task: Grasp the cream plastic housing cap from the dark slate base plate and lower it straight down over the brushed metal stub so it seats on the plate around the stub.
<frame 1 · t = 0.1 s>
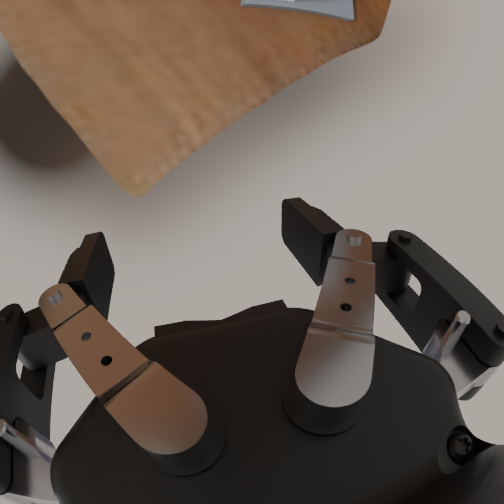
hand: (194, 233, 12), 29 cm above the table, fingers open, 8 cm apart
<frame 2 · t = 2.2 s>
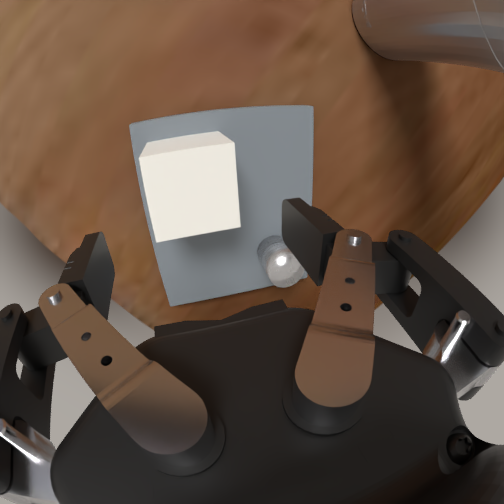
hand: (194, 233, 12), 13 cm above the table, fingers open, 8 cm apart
base plate: (230, 206, 26), on the table
housing cap: (186, 169, 21), point 1 cm above the table, touching base plate
stub: (272, 249, 28), resting on base plate
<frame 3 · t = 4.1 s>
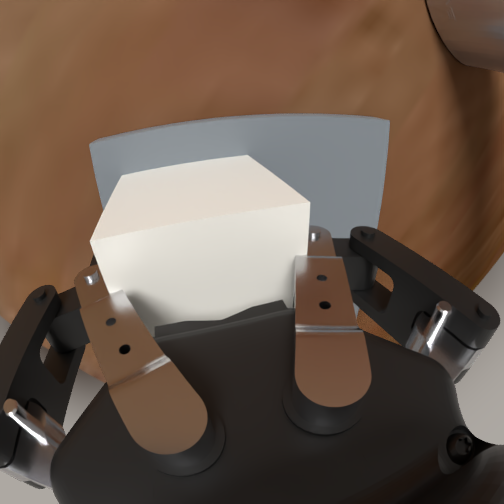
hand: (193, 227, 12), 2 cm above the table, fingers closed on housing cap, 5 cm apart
base plate: (257, 268, 17), on the table
housing cap: (192, 221, 13), point 2 cm above the table, touching base plate, gripper
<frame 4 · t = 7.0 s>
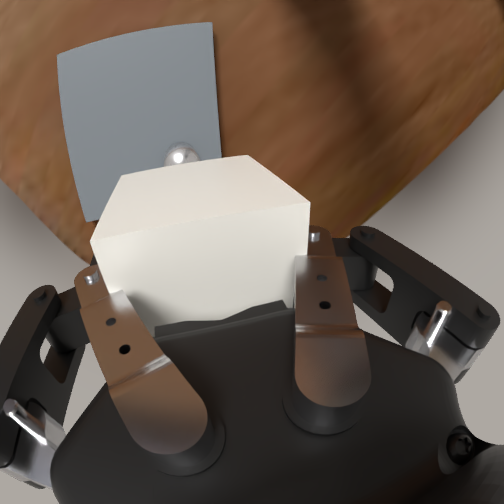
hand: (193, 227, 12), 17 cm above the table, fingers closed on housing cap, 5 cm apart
base plate: (139, 119, 24), on the table
housing cap: (192, 221, 13), point 17 cm above the table, touching gripper
stub: (180, 158, 25), resting on base plate
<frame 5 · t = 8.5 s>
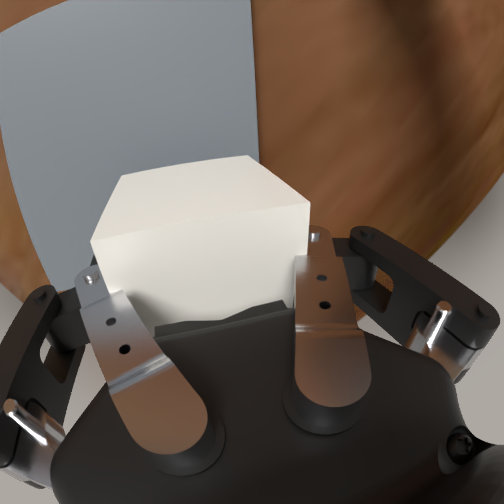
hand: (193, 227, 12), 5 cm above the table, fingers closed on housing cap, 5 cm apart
base plate: (123, 130, 14), on the table
housing cap: (192, 221, 13), point 5 cm above the table, touching gripper
when the fingers open (4 cm above the table, at t = 9.9 s): housing cap drops 2 cm, resting on base plate.
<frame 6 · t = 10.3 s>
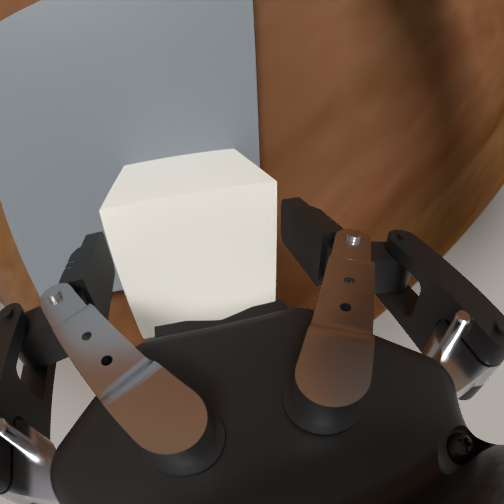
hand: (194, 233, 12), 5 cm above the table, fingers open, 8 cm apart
base plate: (113, 132, 13), on the table
housing cap: (185, 206, 15), point 1 cm above the table, touching base plate
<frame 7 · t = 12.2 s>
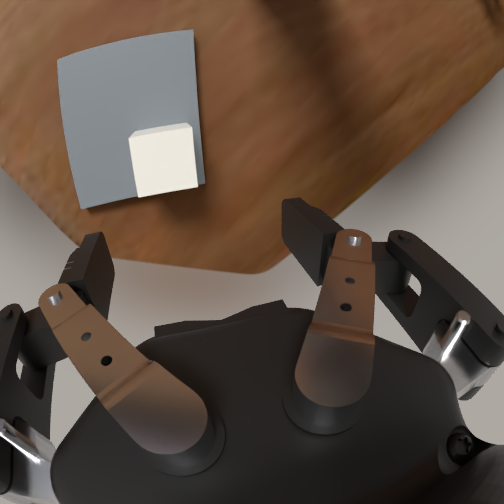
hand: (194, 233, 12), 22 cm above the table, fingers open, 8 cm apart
base plate: (129, 116, 26), on the table
housing cap: (163, 151, 28), point 1 cm above the table, touching base plate
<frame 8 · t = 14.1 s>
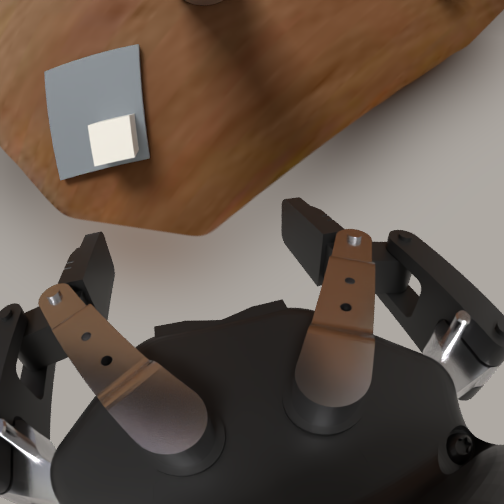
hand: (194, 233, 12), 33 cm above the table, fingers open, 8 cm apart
base plate: (95, 111, 33), on the table
housing cap: (118, 135, 35), point 1 cm above the table, touching base plate
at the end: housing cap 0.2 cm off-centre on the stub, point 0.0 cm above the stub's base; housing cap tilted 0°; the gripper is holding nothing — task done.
